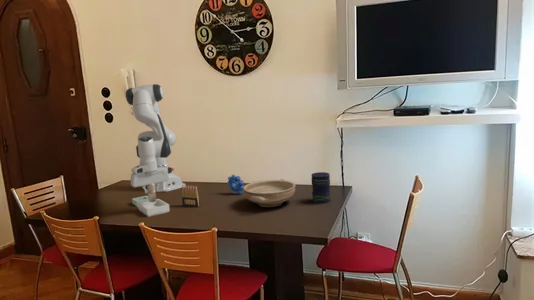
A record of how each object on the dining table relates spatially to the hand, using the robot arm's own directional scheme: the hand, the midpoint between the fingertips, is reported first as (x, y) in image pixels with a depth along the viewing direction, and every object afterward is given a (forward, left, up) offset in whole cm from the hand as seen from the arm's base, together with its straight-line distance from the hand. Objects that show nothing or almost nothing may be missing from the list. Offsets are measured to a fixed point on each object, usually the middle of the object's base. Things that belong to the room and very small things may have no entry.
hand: (151, 192), depth 227 cm
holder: (0, -20, -11) cm, 23 cm away
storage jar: (-75, +53, -11) cm, 93 cm away
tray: (0, 0, -11) cm, 11 cm away
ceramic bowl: (-53, +36, -11) cm, 65 cm away
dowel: (0, 0, -5) cm, 5 cm away
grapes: (-49, +5, -11) cm, 51 cm away
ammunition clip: (-19, +7, -11) cm, 23 cm away
